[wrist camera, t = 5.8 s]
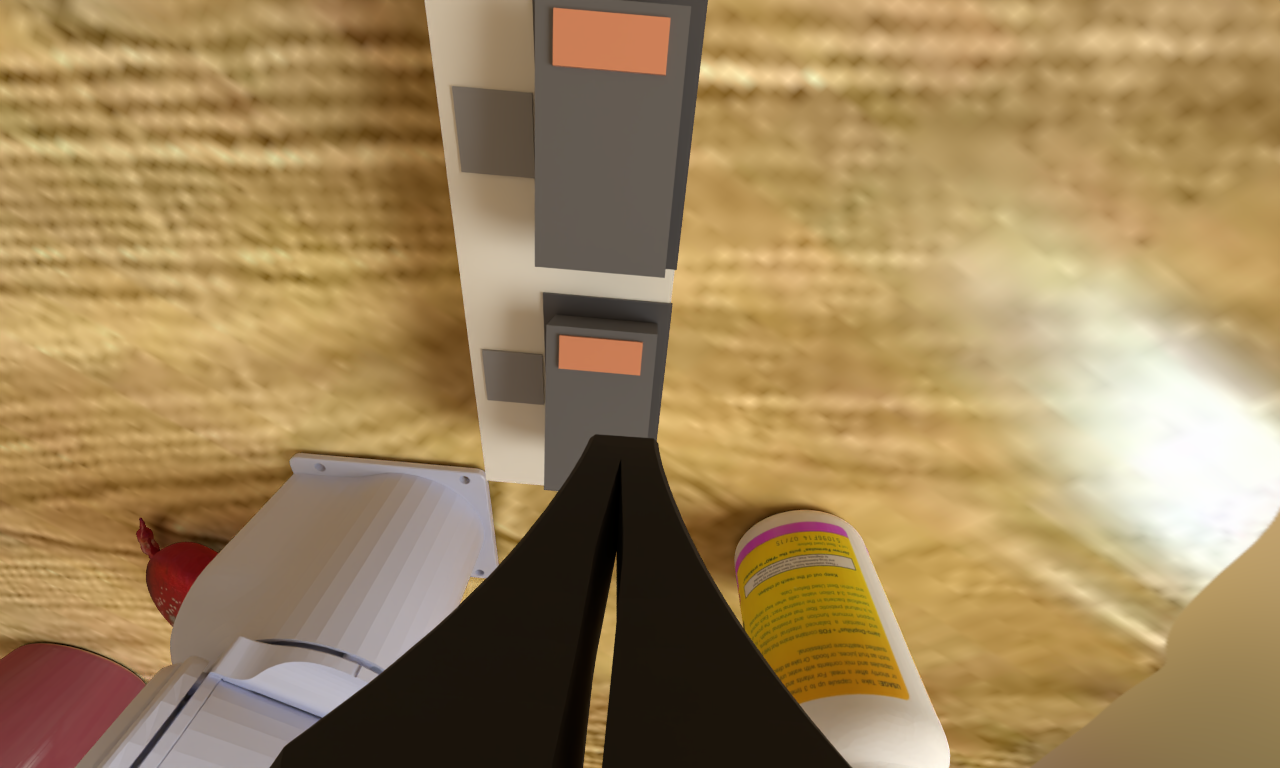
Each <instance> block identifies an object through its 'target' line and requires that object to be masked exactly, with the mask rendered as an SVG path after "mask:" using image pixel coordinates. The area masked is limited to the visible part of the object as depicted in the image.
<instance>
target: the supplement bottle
mask: <svg viewBox="0 0 1280 768" xmlns="http://www.w3.org/2000/svg"><path fill="white" fill-rule="evenodd" d="M734 562H735V572H736V580H737V587H738V593H739V600H740V607H741V614H742V621H743V628H744V630H745V631H746V633H747V634H748V636H749V637H750V638H751V640H752V641H753V643H754V644H755V645H756V647H757V648H758V650H759V651H760V652H761V654H762V655H763V657H764V658H765V659H766V661H767V662H768V664H769V665H770V666H771V668H772V669H773V670H774V672H775V673H776V675H777V676H778V677H779V679H780V680H781V682H782V683H783V684H784V685H785V687H786V688H787V689H788V691H789V692H790V693H791V694H792V696H793V697H794V698H795V699H796V701H797V702H798V703H799V705H800V706H801V707H802V708H803V710H804V711H805V712H806V713H807V715H808V716H809V717H810V719H811V720H812V721H813V722H814V723H815V725H816V726H817V727H818V728H819V729H820V731H821V732H822V733H823V734H824V735H825V737H826V738H827V739H828V740H829V741H830V743H831V744H832V745H833V746H834V747H835V748H836V750H837V751H838V752H839V753H840V754H841V755H842V757H843V758H844V759H845V760H846V761H847V762H848V764H849V765H850V766H851V767H852V768H949V764H950V751H949V745H948V742H947V739H946V735H945V733H944V731H943V728H942V726H941V724H940V721H939V719H938V716H937V714H936V712H935V709H934V707H933V705H932V702H931V700H930V698H929V695H928V693H927V691H926V688H925V686H924V684H923V681H922V679H921V677H920V674H919V672H918V670H917V667H916V665H915V662H914V660H913V658H912V655H911V653H910V651H909V648H908V646H907V643H906V641H905V639H904V636H903V634H902V632H901V629H900V627H899V624H898V622H897V619H896V617H895V615H894V612H893V610H892V608H891V605H890V603H889V600H888V598H887V596H886V593H885V591H884V588H883V586H882V584H881V581H880V579H879V577H878V574H877V572H876V570H875V567H874V565H873V562H872V560H871V557H870V555H869V553H868V550H867V548H866V546H865V544H864V542H863V540H862V538H861V536H860V535H859V533H858V532H857V531H856V530H855V528H854V527H852V526H851V525H850V524H849V523H848V522H846V521H844V520H843V519H841V518H839V517H837V516H835V515H832V514H829V513H826V512H821V511H815V510H794V511H787V512H783V513H779V514H776V515H773V516H770V517H768V518H765V519H764V520H762V521H760V522H758V523H757V524H755V525H754V526H753V527H752V528H750V529H749V530H748V531H747V532H746V533H745V534H744V535H743V537H742V538H741V540H740V541H739V543H738V545H737V548H736V551H735V558H734Z"/></svg>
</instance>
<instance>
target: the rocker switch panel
mask: <svg viewBox="0 0 1280 768" xmlns="http://www.w3.org/2000/svg"><path fill="white" fill-rule="evenodd" d="M624 1H636V2H647V3H659V4H671V5H682V6H691V15H690V25H689V35H688V46H687V56H686V66H685V76H684V86H683V97H682V107H681V117H680V127H679V137H678V147H677V158H676V168H675V178H674V188H673V198H672V208H671V219H670V229H669V239H668V249H667V259H666V270H665V278H659V277H648V276H636V275H625V274H613V273H602V272H590V271H579V270H567V269H556V268H544V267H535V0H425V8H426V15H427V23H428V31H429V39H430V46H431V54H432V62H433V70H434V77H435V85H436V93H437V101H438V108H439V116H440V124H441V132H442V139H443V147H444V155H445V163H446V170H447V178H448V186H449V194H450V201H451V209H452V217H453V225H454V232H455V240H456V248H457V256H458V264H459V271H460V279H461V287H462V295H463V302H464V310H465V318H466V326H467V333H468V341H469V349H470V357H471V364H472V372H473V380H474V388H475V395H476V403H477V411H478V419H479V426H480V434H481V442H482V450H483V457H484V465H485V473H486V480H487V481H499V482H510V483H522V484H533V485H544V454H545V387H546V325H547V324H548V323H549V322H550V320H551V319H552V318H553V317H554V316H555V315H566V316H578V317H589V318H601V319H612V320H624V321H635V322H647V323H657V324H658V336H657V346H656V356H655V367H654V377H653V388H652V398H651V408H650V419H649V429H648V438H654V439H655V440H656V442H657V433H658V424H659V416H660V407H661V399H662V390H663V382H664V373H665V364H666V356H667V347H668V339H669V330H670V321H671V313H672V303H671V297H672V288H673V280H674V271H675V270H677V261H678V253H679V244H680V235H681V227H682V218H683V210H684V201H685V193H686V184H687V175H688V167H689V158H690V150H691V141H692V132H693V124H694V115H695V107H696V98H697V89H698V81H699V72H700V64H701V55H702V46H703V38H704V29H705V21H706V12H707V4H708V0H624Z"/></svg>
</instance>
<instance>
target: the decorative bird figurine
mask: <svg viewBox="0 0 1280 768" xmlns="http://www.w3.org/2000/svg"><path fill="white" fill-rule="evenodd" d="M139 520H140V529H139V530H138V531H137V532H136V535H137V538H138V541H139V543H140V545H141V549H142V551H143V552H144V553H145V554H147V555H149V558H150V561H149V563H148V565H147V570H146V582H147V587H148V590H149V593H150V596H151V598H152V600H153V602H154V603H155V605H156V607H157V608H158V610H159V611H160V612H161V614H162V615H163V616H164V618H165V619H166V620H167V621H168V622H169V623H170V624H171V625H172V626H173V625H174V622H175V619H176V617H177V614H178V612H179V609H180V607H181V605H182V603H183V601H184V599H185V597H186V595H187V593H188V592H189V590H190V588H191V586H192V585H193V584H194V582H195V581H196V579H197V578H198V576H199V575H200V574H201V573H202V571H203V570H204V569H205V568H206V566H207V565H208V564H209V563H210V562H211V561H212V560H213V559H214V558H215V557H216V556H217V555H218V554H219V553H217V552H215V551H214V550H212V549H210V548H208V547H206V546H204V545H201V544H198V543H193V542H180V543H175V544H172V545H170V546H167V547H165V548H163V549H162V550H160V548H159V544H158V543H157V542H156V541H155V540H154V536H153V532H152V530H151V529H150V528H148V527H146V525H145V522H144V521H143V520H142V518H140V519H139Z"/></svg>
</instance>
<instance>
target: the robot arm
mask: <svg viewBox="0 0 1280 768" xmlns="http://www.w3.org/2000/svg"><path fill="white" fill-rule="evenodd" d="M289 463H290V466H291V468H292V471H293V473H294V474H293V475H292V476H291V477H290V478H289V479H288V480H287V481H286V482H285V483H284V484H283V486H282V487H281V488H280V489H279V490H278V491H277V492H276V493H275V494H274V495H273V496H272V497H271V498H270V499H269V500H268V501H267V503H266V504H265V505H264V506H263V507H262V508H261V509H260V510H259V511H258V512H257V513H256V514H255V515H254V516H253V517H252V518H251V520H250V521H249V522H248V523H247V524H246V525H245V526H244V527H243V528H242V529H241V530H240V531H239V532H238V533H237V534H236V536H235V537H234V538H233V539H232V540H231V541H230V542H229V543H228V544H227V545H226V546H225V547H224V548H223V549H222V550H221V551H220V553H219V554H218V555H217V556H216V557H215V558H214V559H213V560H212V561H211V562H210V563H209V564H208V565H207V566H206V568H205V569H204V570H203V571H202V573H201V574H200V575H199V576H198V578H197V579H196V581H195V582H194V584H193V585H192V586H191V588H190V590H189V592H188V593H187V595H186V597H185V599H184V601H183V603H182V605H181V607H180V609H179V612H178V614H177V617H176V619H175V622H174V625H173V629H172V634H171V641H170V652H171V660H172V665H170V666H167V667H164V668H162V669H160V670H159V671H158V672H157V673H156V674H155V676H154V677H153V678H152V679H151V680H150V681H149V682H148V683H147V684H146V686H145V687H144V688H143V689H142V690H141V691H140V692H139V694H138V695H137V696H136V697H135V698H134V699H133V700H132V702H131V703H130V704H129V705H128V706H127V707H126V708H125V710H124V711H123V712H122V713H121V714H120V715H119V717H118V718H117V719H116V720H115V721H114V722H113V723H112V725H111V726H110V727H109V728H108V729H107V730H106V732H105V733H104V734H103V735H102V736H101V737H100V739H99V740H98V741H97V742H96V743H95V744H94V746H93V747H92V748H91V749H90V750H89V751H88V753H87V754H86V755H85V756H84V757H83V758H82V760H81V761H80V762H79V763H78V764H77V766H76V767H75V768H583V763H584V753H585V744H586V735H587V726H588V717H589V707H590V698H591V689H592V680H593V673H594V667H595V661H596V654H597V649H598V644H599V639H600V634H601V629H602V624H603V619H604V613H605V608H606V603H607V598H608V593H609V588H610V583H611V577H612V572H613V567H614V562H615V557H616V551H617V624H616V634H615V644H614V654H613V664H612V674H611V685H610V695H609V705H608V715H607V724H606V734H605V744H604V754H603V763H602V768H852V767H851V766H850V765H849V764H848V762H847V761H846V760H845V759H844V758H843V757H842V755H841V754H840V753H839V752H838V751H837V750H836V748H835V747H834V746H833V745H832V744H831V743H830V741H829V740H828V739H827V738H826V737H825V735H824V734H823V733H822V732H821V731H820V729H819V728H818V727H817V726H816V725H815V723H814V722H813V721H812V720H811V719H810V717H809V716H808V715H807V713H806V712H805V711H804V710H803V708H802V707H801V706H800V705H799V703H798V702H797V701H796V699H795V698H794V697H793V696H792V694H791V693H790V692H789V691H788V689H787V688H786V687H785V685H784V684H783V683H782V682H781V680H780V679H779V677H778V676H777V675H776V673H775V672H774V670H773V669H772V668H771V666H770V665H769V664H768V662H767V661H766V659H765V658H764V657H763V655H762V654H761V652H760V651H759V650H758V648H757V647H756V645H755V644H754V643H753V641H752V640H751V638H750V637H749V636H748V634H747V633H746V631H745V630H744V628H743V627H742V625H741V624H740V622H739V621H738V619H737V618H736V616H735V615H734V613H733V611H732V610H731V608H730V607H729V605H728V604H727V602H726V600H725V599H724V597H723V595H722V594H721V592H720V590H719V589H718V587H717V585H716V584H715V582H714V580H713V579H712V577H711V575H710V573H709V571H708V570H707V568H706V566H705V564H704V562H703V560H702V558H701V557H700V555H699V553H698V551H697V549H696V547H695V545H694V543H693V541H692V539H691V537H690V535H689V532H688V530H687V528H686V526H685V524H684V522H683V519H682V517H681V515H680V512H679V510H678V507H677V505H676V502H675V500H674V498H673V495H672V492H671V490H670V487H669V484H668V481H667V478H666V475H665V472H664V469H663V465H662V462H661V458H660V453H659V447H658V443H657V442H656V440H655V439H654V438H642V437H628V436H614V435H600V434H595V435H594V436H592V437H591V438H590V439H589V441H588V444H587V446H586V448H585V450H584V451H583V453H582V455H581V457H580V459H579V460H578V462H577V464H576V465H575V467H574V469H573V470H572V472H571V473H570V475H569V477H568V478H567V480H566V481H565V483H564V484H563V485H562V487H561V488H560V490H559V491H558V493H557V494H556V496H555V497H554V498H553V500H552V501H551V503H550V504H549V505H548V507H547V508H546V509H545V511H544V512H543V513H542V515H541V516H540V517H539V518H538V520H537V521H536V522H535V523H534V525H533V526H532V527H531V528H530V530H529V531H528V532H527V533H526V535H525V536H524V537H523V538H522V540H521V541H520V542H519V543H518V544H517V545H516V547H515V548H514V549H513V550H512V551H511V552H510V553H509V555H508V556H507V557H506V558H505V559H504V560H503V561H502V562H501V563H500V564H499V563H498V555H497V547H496V539H495V531H494V523H493V515H492V507H491V499H490V492H489V484H488V481H487V480H486V473H485V472H484V471H483V470H481V469H477V468H467V467H455V466H444V465H432V464H421V463H409V462H398V461H387V460H375V459H364V458H352V457H341V456H329V455H318V454H307V453H297V454H295V455H294V456H293V457H292V458H291V459H290V461H289ZM464 476H466V477H468V478H465V477H464ZM470 577H478V578H486V579H485V580H484V581H483V582H482V583H481V584H480V585H479V586H478V587H477V588H476V589H475V590H474V591H473V592H472V593H471V594H470V595H469V596H468V597H467V598H466V599H465V600H464V601H463V602H462V603H461V604H460V602H461V599H462V597H463V594H464V591H465V589H466V586H467V584H468V581H469V579H470ZM459 604H460V605H459Z"/></svg>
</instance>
